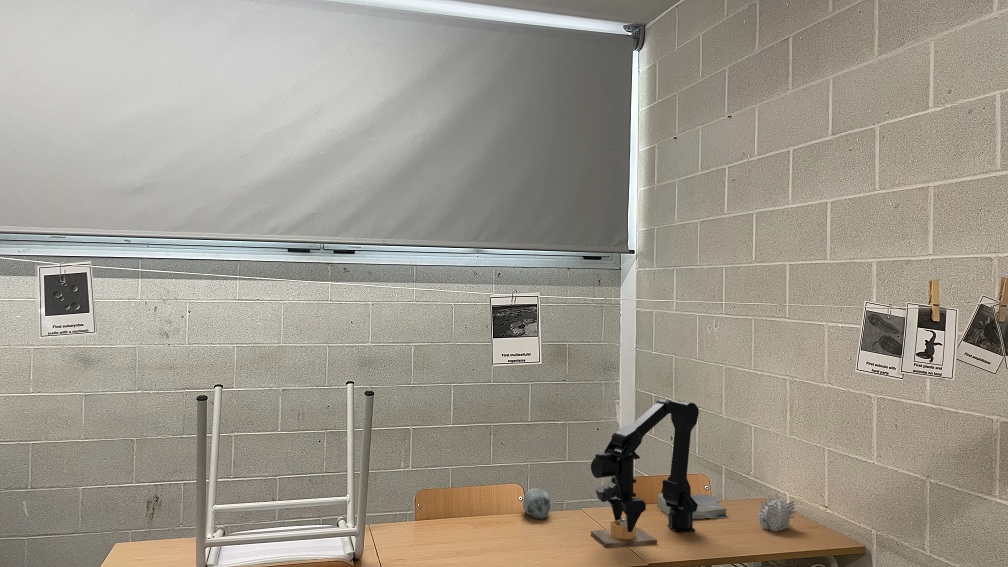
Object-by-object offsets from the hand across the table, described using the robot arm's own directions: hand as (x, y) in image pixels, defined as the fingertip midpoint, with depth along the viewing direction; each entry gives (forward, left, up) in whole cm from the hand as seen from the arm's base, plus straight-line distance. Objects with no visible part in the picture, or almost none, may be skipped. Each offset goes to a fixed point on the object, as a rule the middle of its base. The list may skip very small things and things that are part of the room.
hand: (623, 527), depth 221 cm
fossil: (-36, -24, -4) cm, 43 cm away
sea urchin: (-52, 0, -4) cm, 52 cm away
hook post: (0, 0, -2) cm, 2 cm away
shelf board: (0, 0, -4) cm, 4 cm away
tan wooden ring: (0, 0, -2) cm, 2 cm away
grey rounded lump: (+18, -30, -4) cm, 35 cm away
